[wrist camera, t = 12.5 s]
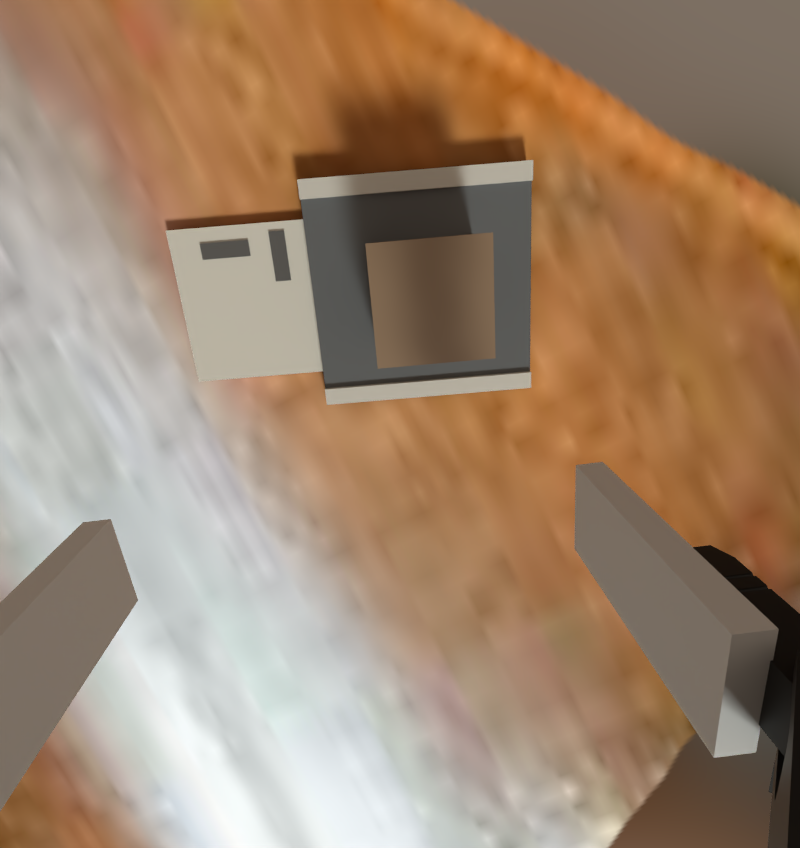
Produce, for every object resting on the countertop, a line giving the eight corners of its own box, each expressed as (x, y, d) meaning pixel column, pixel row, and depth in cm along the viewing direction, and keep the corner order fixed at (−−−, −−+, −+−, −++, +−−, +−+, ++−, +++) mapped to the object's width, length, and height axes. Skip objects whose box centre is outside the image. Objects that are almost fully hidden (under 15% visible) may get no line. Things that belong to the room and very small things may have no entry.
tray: (328, 399, 33) (327, 404, 32) (300, 181, 29) (296, 179, 28) (526, 383, 33) (530, 387, 32) (527, 162, 29) (533, 160, 28)
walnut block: (378, 345, 32) (377, 368, 26) (368, 243, 30) (365, 243, 24) (475, 337, 32) (495, 358, 26) (472, 234, 30) (493, 232, 24)
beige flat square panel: (200, 380, 33) (198, 382, 32) (167, 230, 30) (165, 230, 29) (340, 368, 33) (339, 370, 32) (322, 217, 30) (321, 217, 29)
